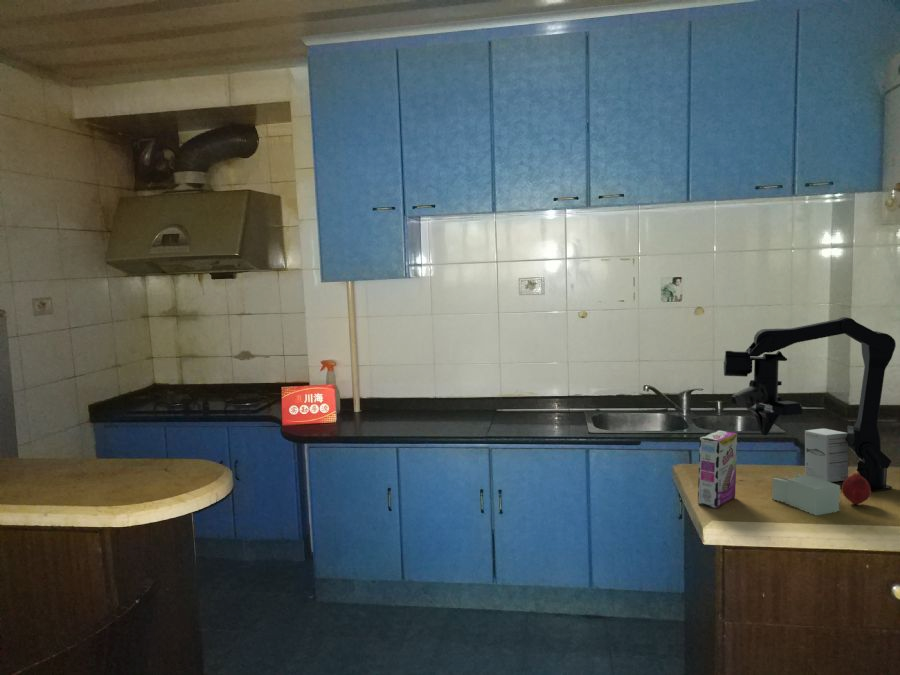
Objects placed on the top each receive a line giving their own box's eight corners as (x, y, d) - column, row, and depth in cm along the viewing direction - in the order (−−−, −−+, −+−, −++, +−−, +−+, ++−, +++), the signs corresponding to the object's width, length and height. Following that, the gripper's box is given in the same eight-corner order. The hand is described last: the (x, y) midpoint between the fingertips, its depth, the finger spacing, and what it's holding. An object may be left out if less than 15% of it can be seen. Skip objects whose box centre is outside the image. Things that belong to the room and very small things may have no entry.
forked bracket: (799, 494, 159) (799, 470, 159) (841, 510, 148) (842, 485, 148) (771, 499, 157) (771, 474, 156) (812, 515, 145) (813, 489, 145)
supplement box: (804, 476, 174) (803, 430, 173) (825, 473, 176) (825, 427, 175) (827, 483, 167) (826, 434, 166) (849, 480, 169) (849, 432, 168)
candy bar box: (717, 509, 151) (719, 440, 149) (696, 504, 154) (698, 437, 153) (737, 497, 158) (738, 432, 157) (716, 493, 162) (717, 429, 160)
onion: (874, 509, 149) (876, 475, 148) (847, 508, 150) (848, 474, 149) (864, 501, 154) (865, 468, 154) (837, 499, 156) (838, 467, 155)
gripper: (716, 374, 176) (715, 430, 178) (769, 384, 159) (767, 446, 160) (748, 371, 180) (747, 426, 181) (804, 381, 162) (802, 442, 163)
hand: (764, 435), depth 171 cm, fingers closed
